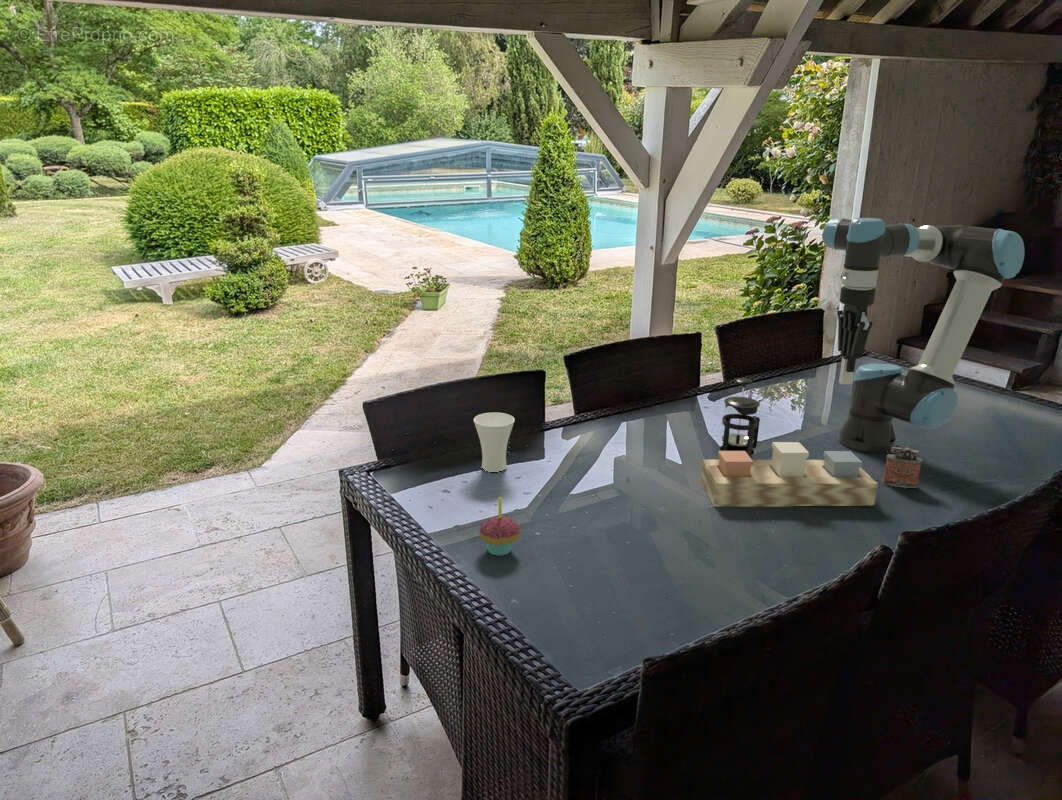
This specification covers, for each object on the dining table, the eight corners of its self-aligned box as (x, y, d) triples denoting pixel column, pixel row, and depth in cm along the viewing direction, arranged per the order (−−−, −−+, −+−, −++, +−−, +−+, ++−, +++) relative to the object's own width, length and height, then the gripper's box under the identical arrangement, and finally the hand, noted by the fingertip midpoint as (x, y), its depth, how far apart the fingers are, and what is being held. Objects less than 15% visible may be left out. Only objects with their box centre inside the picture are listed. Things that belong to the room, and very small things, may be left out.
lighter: (916, 484, 194) (923, 448, 190) (917, 490, 190) (925, 453, 187) (881, 480, 196) (887, 443, 193) (882, 485, 193) (889, 448, 190)
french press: (732, 471, 200) (742, 387, 192) (708, 458, 207) (716, 377, 200) (765, 463, 205) (775, 381, 198) (740, 451, 213) (749, 371, 206)
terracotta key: (742, 474, 189) (745, 450, 187) (750, 486, 183) (753, 461, 181) (715, 474, 189) (718, 450, 187) (722, 486, 183) (725, 461, 181)
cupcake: (479, 540, 164) (478, 489, 160) (519, 539, 164) (519, 488, 160) (480, 561, 156) (479, 508, 152) (522, 560, 156) (522, 507, 152)
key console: (849, 481, 195) (852, 459, 193) (873, 506, 182) (877, 483, 180) (700, 481, 194) (702, 459, 192) (714, 506, 180) (716, 483, 178)
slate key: (846, 475, 190) (850, 451, 188) (858, 486, 184) (862, 461, 182) (820, 475, 190) (823, 451, 188) (830, 486, 184) (834, 461, 182)
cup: (521, 464, 202) (521, 416, 198) (503, 479, 193) (503, 429, 189) (485, 457, 206) (485, 409, 202) (466, 471, 197) (465, 422, 193)
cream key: (795, 466, 189) (799, 442, 187) (805, 477, 183) (809, 452, 181) (769, 466, 189) (772, 442, 187) (778, 477, 182) (781, 452, 180)
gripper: (830, 281, 184) (819, 375, 192) (855, 292, 172) (842, 392, 180) (860, 281, 185) (848, 374, 193) (888, 292, 172) (873, 391, 180)
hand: (845, 383), depth 186 cm, fingers closed
